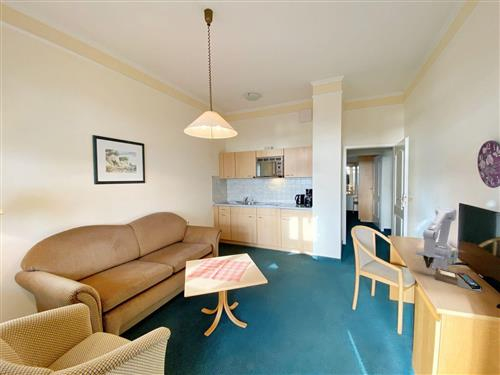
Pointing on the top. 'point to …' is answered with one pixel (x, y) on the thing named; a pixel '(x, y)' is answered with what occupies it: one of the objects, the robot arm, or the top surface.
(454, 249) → the light bulb box
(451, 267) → the top surface
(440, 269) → the lid
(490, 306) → the top surface
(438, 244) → the robot arm
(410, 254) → the top surface
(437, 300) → the top surface
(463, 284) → the slate mat
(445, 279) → the walnut box
